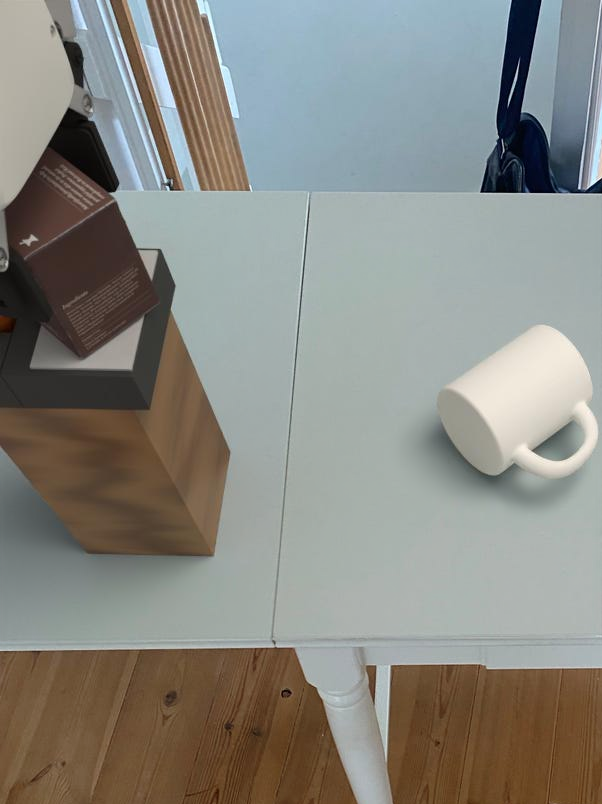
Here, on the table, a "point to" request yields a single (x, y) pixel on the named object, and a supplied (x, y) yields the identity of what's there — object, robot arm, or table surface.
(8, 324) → the button
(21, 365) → the scale
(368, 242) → the table surface
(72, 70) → the robot arm
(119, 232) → the box
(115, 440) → the block
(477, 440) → the mug
